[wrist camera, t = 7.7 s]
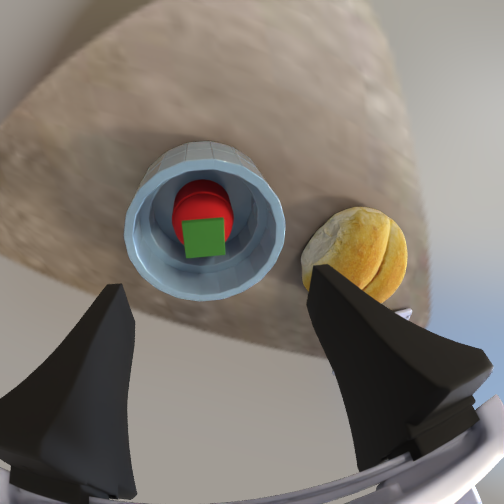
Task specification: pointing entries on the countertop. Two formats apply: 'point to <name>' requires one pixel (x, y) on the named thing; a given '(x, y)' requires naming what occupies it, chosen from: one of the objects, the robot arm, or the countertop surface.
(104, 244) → the countertop surface
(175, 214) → the strawberry
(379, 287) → the bread roll
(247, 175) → the bowl
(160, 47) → the countertop surface
